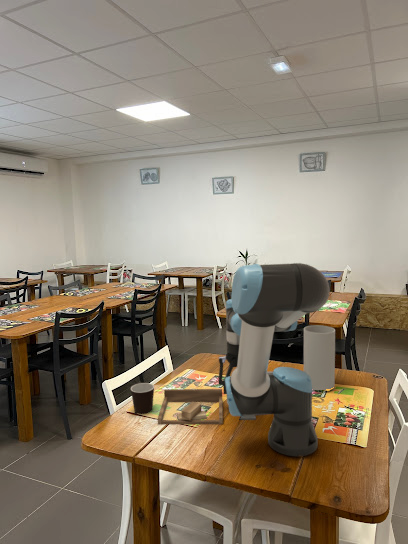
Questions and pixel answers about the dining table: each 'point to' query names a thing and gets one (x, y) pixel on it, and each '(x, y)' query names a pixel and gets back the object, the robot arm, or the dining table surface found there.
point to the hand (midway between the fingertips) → (238, 401)
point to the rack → (191, 396)
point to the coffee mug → (142, 397)
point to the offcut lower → (198, 417)
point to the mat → (248, 418)
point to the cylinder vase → (320, 356)
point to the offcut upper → (191, 411)
